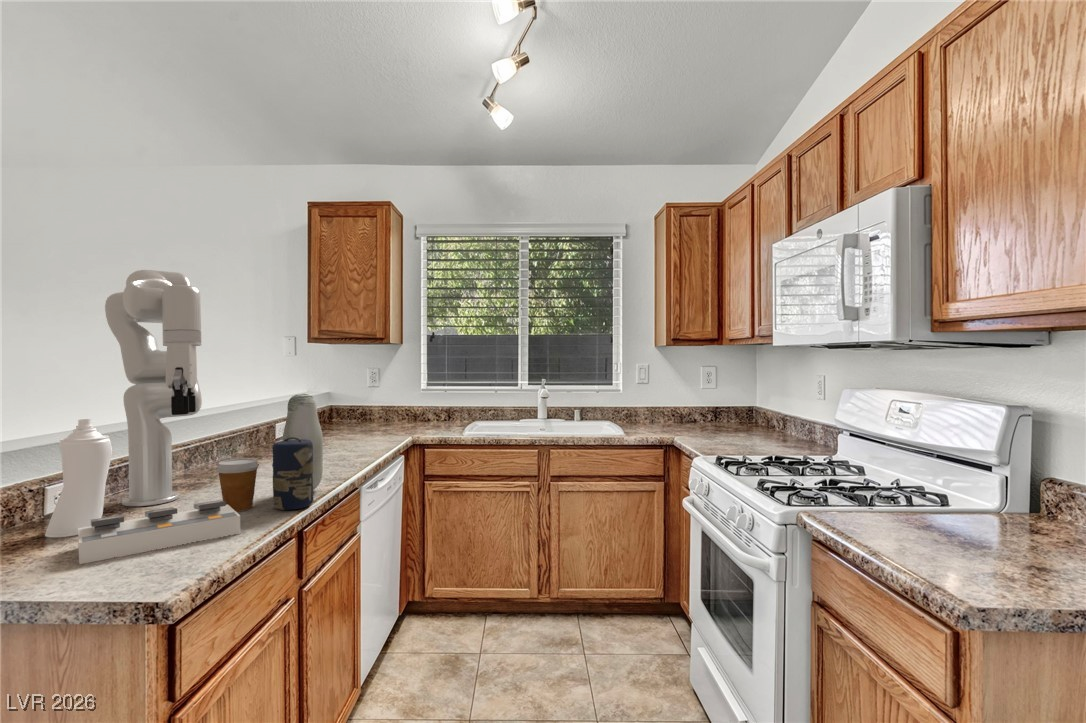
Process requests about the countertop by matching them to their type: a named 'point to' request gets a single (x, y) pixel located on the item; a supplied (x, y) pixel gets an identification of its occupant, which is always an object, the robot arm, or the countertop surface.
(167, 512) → the rocker middle
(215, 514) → the switch unit
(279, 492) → the canister
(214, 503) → the rocker
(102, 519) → the plate
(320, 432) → the grey bottle
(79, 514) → the white bottle
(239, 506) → the disposable coffee cup
